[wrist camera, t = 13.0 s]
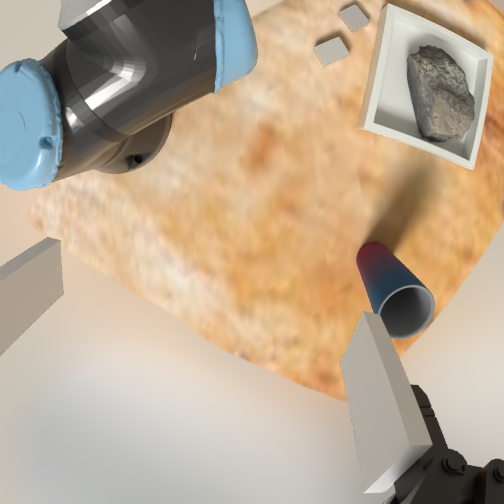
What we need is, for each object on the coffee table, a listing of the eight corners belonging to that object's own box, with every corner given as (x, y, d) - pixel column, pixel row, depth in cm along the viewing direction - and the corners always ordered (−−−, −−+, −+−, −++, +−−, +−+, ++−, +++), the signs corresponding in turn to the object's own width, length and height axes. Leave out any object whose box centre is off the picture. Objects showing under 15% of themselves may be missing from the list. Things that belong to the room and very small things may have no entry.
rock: (396, 49, 33) (416, 39, 27) (447, 47, 31) (471, 39, 25) (420, 145, 37) (442, 149, 31) (468, 137, 36) (494, 141, 30)
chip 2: (337, 15, 33) (340, 11, 31) (352, 8, 32) (355, 4, 30) (352, 33, 34) (355, 30, 32) (367, 26, 33) (370, 22, 31)
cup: (390, 230, 43) (434, 277, 29) (396, 272, 45) (434, 329, 31) (346, 242, 44) (373, 295, 30) (354, 284, 46) (379, 346, 33)
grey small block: (323, 68, 36) (326, 65, 34) (313, 50, 35) (314, 46, 33) (347, 57, 35) (350, 54, 33) (336, 40, 34) (338, 36, 32)
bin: (357, 127, 38) (363, 127, 35) (380, 11, 32) (388, 3, 28) (460, 166, 38) (472, 170, 35) (480, 58, 32) (493, 55, 28)
